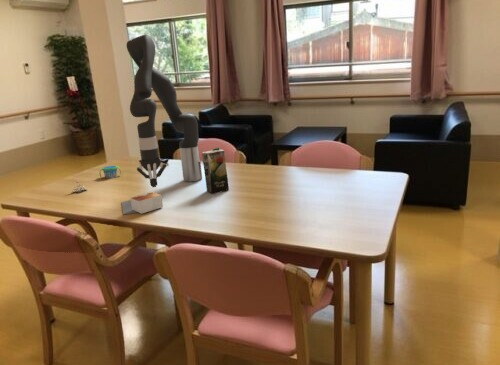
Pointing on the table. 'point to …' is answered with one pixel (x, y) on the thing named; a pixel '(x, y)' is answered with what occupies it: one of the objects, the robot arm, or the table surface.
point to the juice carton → (215, 171)
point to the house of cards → (79, 188)
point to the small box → (146, 202)
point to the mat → (127, 208)
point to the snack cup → (110, 171)
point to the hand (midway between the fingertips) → (154, 186)
